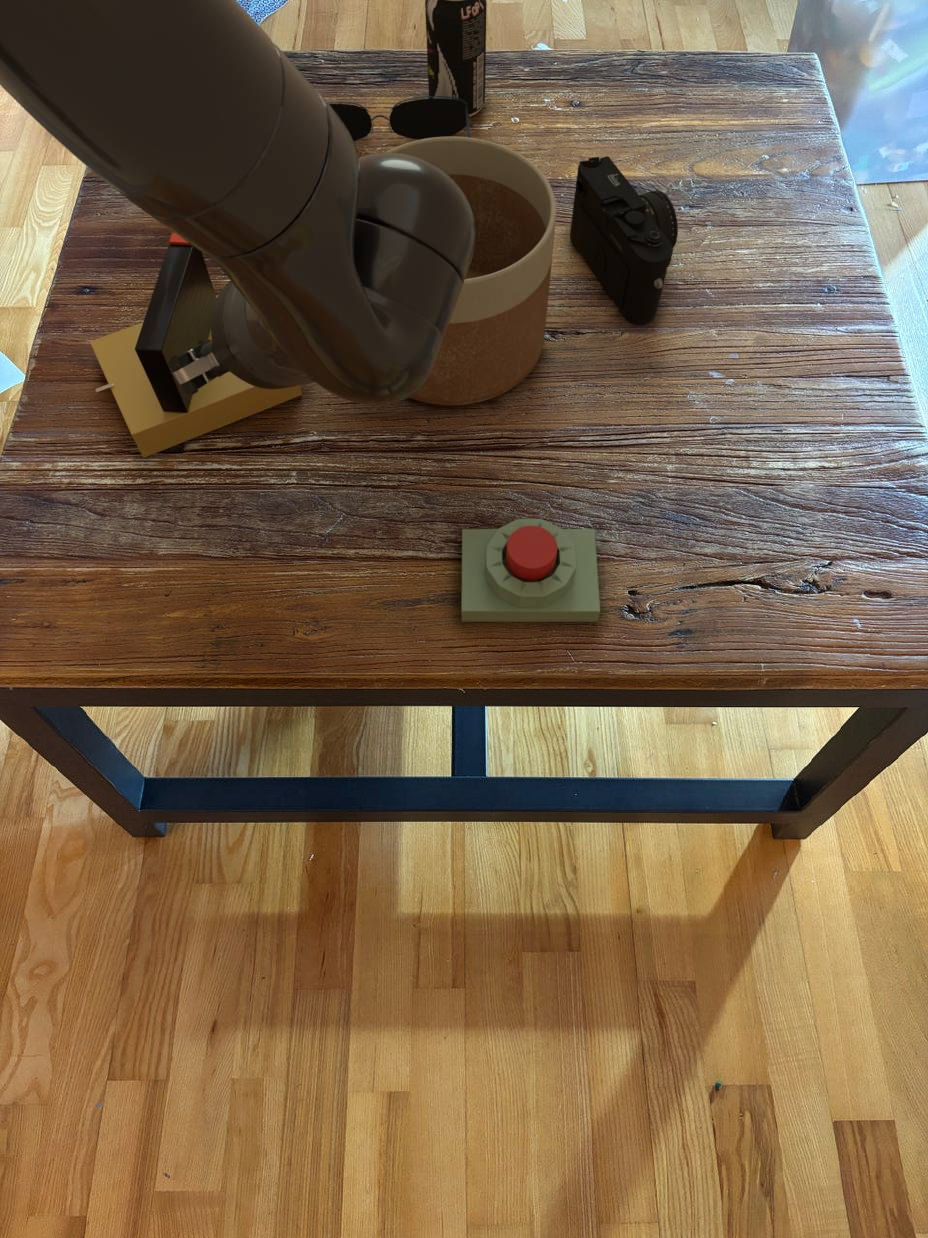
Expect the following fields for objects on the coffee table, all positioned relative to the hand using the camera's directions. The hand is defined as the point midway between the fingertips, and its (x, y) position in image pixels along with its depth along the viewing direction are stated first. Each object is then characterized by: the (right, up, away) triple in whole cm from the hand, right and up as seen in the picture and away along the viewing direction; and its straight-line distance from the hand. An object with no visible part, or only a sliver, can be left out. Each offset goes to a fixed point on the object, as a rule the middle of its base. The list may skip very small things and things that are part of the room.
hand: (228, 347), depth 71 cm
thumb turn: (-4, +1, +4) cm, 6 cm away
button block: (+23, -18, -2) cm, 29 cm away
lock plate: (-4, -1, +7) cm, 8 cm away
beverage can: (+18, +31, +23) cm, 43 cm away
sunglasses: (+11, +20, +18) cm, 29 cm away
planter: (+17, +3, +9) cm, 20 cm away
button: (+23, -17, -5) cm, 29 cm away
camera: (+33, +11, +13) cm, 37 cm away
